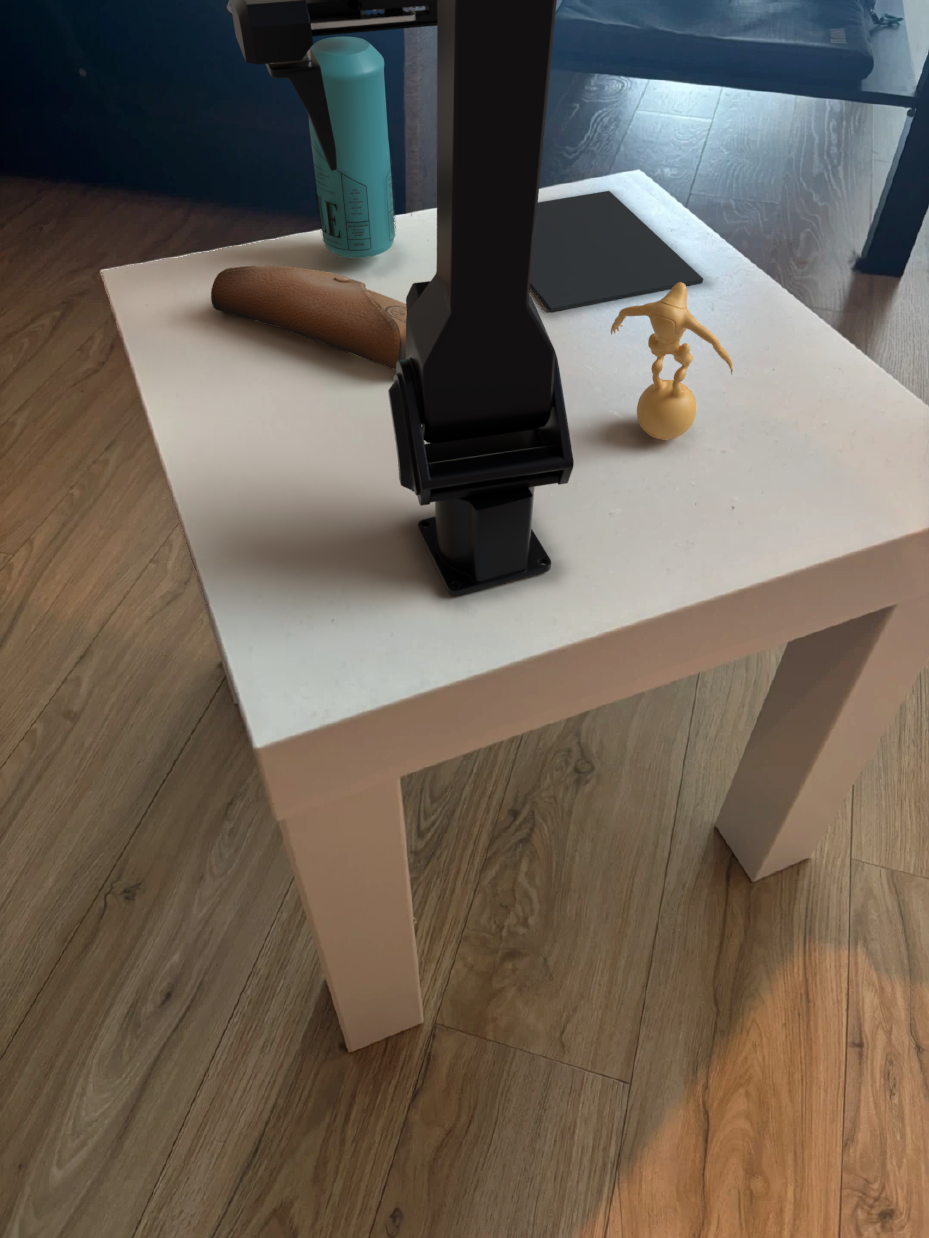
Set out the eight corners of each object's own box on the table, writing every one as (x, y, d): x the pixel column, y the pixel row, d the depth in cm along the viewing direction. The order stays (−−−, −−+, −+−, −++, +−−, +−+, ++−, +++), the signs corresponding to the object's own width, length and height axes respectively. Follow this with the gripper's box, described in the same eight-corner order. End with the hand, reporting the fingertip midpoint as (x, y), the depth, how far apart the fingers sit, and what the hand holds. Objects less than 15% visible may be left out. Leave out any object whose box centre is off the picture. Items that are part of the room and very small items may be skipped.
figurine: (729, 439, 65) (771, 275, 56) (693, 486, 61) (732, 320, 52) (621, 400, 68) (645, 239, 59) (581, 443, 64) (600, 279, 55)
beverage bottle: (412, 252, 82) (401, -14, 68) (367, 284, 79) (345, 10, 64) (352, 233, 85) (329, -28, 70) (306, 264, 81) (271, -5, 66)
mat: (702, 283, 79) (703, 278, 79) (550, 312, 76) (550, 308, 75) (608, 194, 90) (609, 190, 90) (472, 217, 87) (472, 213, 87)
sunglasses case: (459, 324, 73) (435, 274, 67) (420, 402, 73) (392, 358, 66) (276, 268, 79) (238, 217, 73) (238, 339, 79) (196, 293, 72)
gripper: (503, -167, 58) (497, 105, 70) (199, -152, 55) (245, 132, 66) (566, -136, 51) (548, 163, 62) (219, -117, 47) (267, 196, 59)
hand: (400, 160), depth 63 cm, fingers open, 9 cm apart
